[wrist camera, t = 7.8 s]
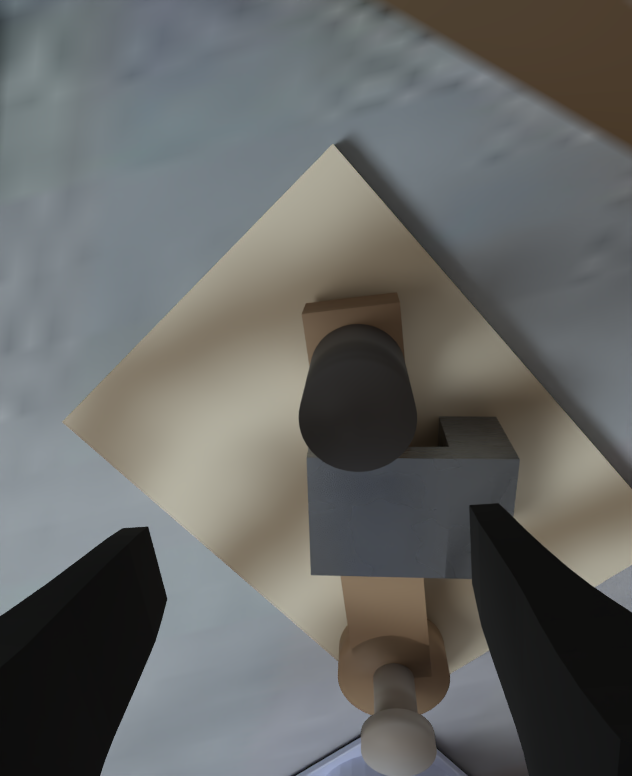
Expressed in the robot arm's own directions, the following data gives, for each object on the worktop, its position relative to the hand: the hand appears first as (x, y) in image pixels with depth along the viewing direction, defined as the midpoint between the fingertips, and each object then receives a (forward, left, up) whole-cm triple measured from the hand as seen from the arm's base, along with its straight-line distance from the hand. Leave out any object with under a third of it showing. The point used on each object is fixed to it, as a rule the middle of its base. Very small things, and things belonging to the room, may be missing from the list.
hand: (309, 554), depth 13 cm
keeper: (-4, 0, -9) cm, 10 cm away
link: (-5, +2, -8) cm, 9 cm away
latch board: (-3, +1, -9) cm, 10 cm away
